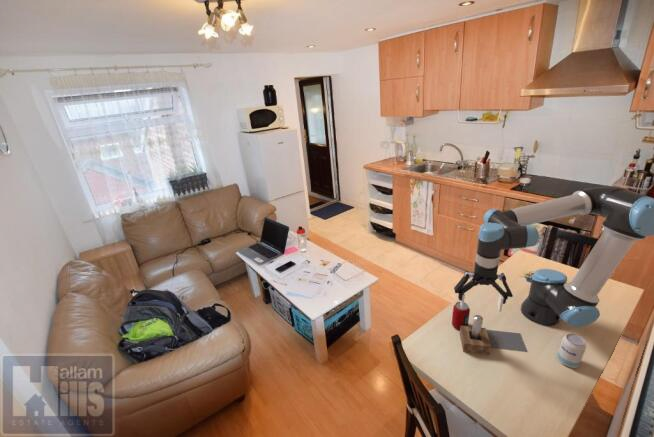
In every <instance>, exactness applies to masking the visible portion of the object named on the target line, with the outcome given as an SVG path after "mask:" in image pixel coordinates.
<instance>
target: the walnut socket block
mask: <svg viewBox="0 0 654 437" xmlns="http://www.w3.org/2000/svg"><path fill="white" fill-rule="evenodd" d="M472 327H473V326H469V325H468V326H460V330H459V337H460V342H461V348H462V352H463V353H469V354H470V353H471V354H479V355H486V356H490V355H491V354H490V353H491V349H492V348H491V345H490V341H489V338H488V334H487V331H486V330H487V328H486V327H481V332H480V338H479V340H474V339H471V333H472Z"/></svg>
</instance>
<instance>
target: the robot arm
mask: <svg viewBox="0 0 654 437" xmlns="http://www.w3.org/2000/svg"><path fill="white" fill-rule="evenodd" d="M591 214H592V215H598V216H601V217H603V218H604V220H603V222H602V223H601V225H602V228H603V231H602V233H601V234H600V237H599V238H598V240H597V241H596V243H595V244H594V246H593V248H592V249H591V251H590V252H589V254H588V255H587V257H586V258H585V259H584V261H583V262H582V264H581V266H580V268H579V269H578V271H577V272H576V274H575V276H574V277H573V279H572V280H571V281H570V282H568V277H567V275H566V274H565V273H563V272H561V271H559V270H556V269H551V268H542V269H540V268H539V269H537V270H536V271H534V273H533V275H532V277H531V282H530V287H529V291H528V295H527V297H526V298H525V299H524V300H523V302H522V303H521V306H520V311H521V314H522V315H523V317H525V318H526V319H527V320H529V321H531V322H532V323H535V324H537V325H541V326H546V327H552V326H556V325H558V324H559V323H560V321H561V320H562V321H564V323H566V325H568V326H570V327H572V328H573V327H574V328H583V327H586V326H588V325H589V326H590V325H591V324H593V323H594V322H596V321H597V320H598V319H599V318H600V315H601V313H600V310H599V308H598V307H597V306H598V304H599V303H600V298H599V296H598V295H599V293H600V292H601V291H602V289H603V287H605V285H606V283H607V282H608V281H609V279H610V278H611V276H612V275H613V274H614V272H615V271H616V269H617V268H618V267H619V264H621V262H622V260H623V259H624V258H625V256H626V255H627V253H629V250H630V249H631V248H632V246H633V245H634V244H635V242H637V241H642V240H644V239H645V238H646V237H651V236H654V198H653V197H651V196H648V195H644V194H641V193H639V192H635V191H633V190H630V189H627V188H624V187H619V186H611V185H609V186H596V187H590V188H584V189H581V190H576V191H574V192H573V193H572V194H570V195H566V196H563V197H558V198H553V199H550V200H545V201H541V202H537V203H533V204H529V205H524V206H519V207H515V208H511V209H507V210H503V211H502V210H500V209H498V208H492V209H489V210H487V211H486V212H485V213H484V215H483V222H484V223H482V224H481V225H480V226H479V230H478V236H477V237H478V238H477V239H478V240H477V247H476V255H475V262H474V270H473V272H469V271H468V270H466V271H465V272H464V274H463V276H462V277H461V278H460V280H459V281H458V283H456V285H455V286H454V288H453V290H454V293H455V294H458V295H457V296H458V301H459V302H460V304H461V308H463V307H464V303H465V296H466V295H465V294H466V293H467V292H468V291H470V290H471V289H472V288H474V287H477V286H478V285H480V286H481V285H482V286H492V287H493V288H494V289H495V290H496V291H497V292H498V293H499V295H498V301H497V305H496V307H497V310H498V312H500V313H501V312H502V310H503V305H505V304H507V303H506V302H507V300H508V298H514V295H513V293H512V291H511V289H510V287H509V284H508V283H507V277H506V274H505V273H504V272H501V273H500V274H498V270H499V269H498V268H499V264H500V256H501V252H502V250H512V249H523V248H525V249H526V248H530V247H535V246H537V245H538V243H539V241H540V233H539V231H538V230H537V228H536V227H535V226H534V225H535V224H538V223H543V222H549V221H552V220H556V219H557V220H558V219H561V218H566V217H569V216H570V217H571V216H574V215H581V216H585V215H591ZM470 279H471V280H470ZM468 280H469V281H468ZM497 280H499V281H501V283H502V284H503V286H504V288H505V290H504V289H503V288H502V287H501V286H500V285H499V283H497V282H496V281H497Z"/></svg>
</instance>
